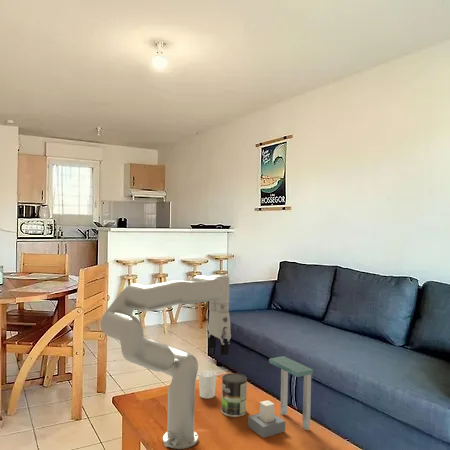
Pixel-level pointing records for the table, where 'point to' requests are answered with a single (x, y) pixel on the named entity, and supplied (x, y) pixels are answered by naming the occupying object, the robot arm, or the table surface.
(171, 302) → the robot arm
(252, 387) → the table surface
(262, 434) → the socket
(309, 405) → the green-topped leg bench
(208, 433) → the table surface
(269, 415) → the peg
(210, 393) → the white cup
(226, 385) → the coffee can
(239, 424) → the table surface
